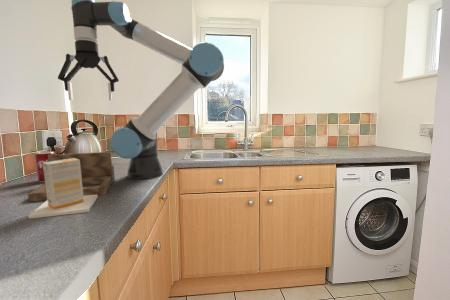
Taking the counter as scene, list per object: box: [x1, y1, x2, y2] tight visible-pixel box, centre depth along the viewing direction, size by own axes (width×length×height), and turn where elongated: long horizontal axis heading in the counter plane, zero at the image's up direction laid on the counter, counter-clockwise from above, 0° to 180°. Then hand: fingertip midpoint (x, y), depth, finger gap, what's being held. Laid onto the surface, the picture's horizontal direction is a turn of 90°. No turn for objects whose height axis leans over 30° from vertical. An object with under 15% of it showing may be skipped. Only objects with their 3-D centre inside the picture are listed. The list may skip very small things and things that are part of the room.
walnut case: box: [27, 151, 116, 202], centre depth 90 cm, size 23×20×12 cm
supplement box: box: [43, 158, 84, 209], centre depth 73 cm, size 8×5×13 cm, turn 141°
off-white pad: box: [28, 194, 99, 219], centre depth 74 cm, size 14×14×1 cm
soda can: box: [34, 150, 57, 184], centre depth 104 cm, size 7×7×12 cm
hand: (91, 100), depth 95 cm, fingers open, 13 cm apart
